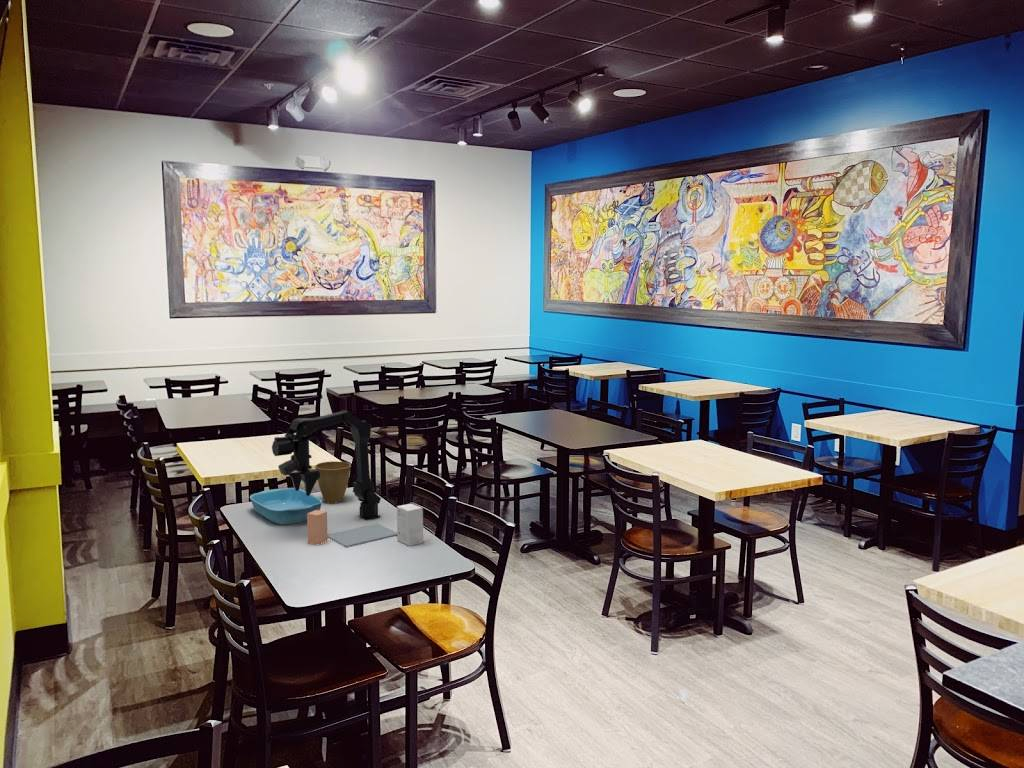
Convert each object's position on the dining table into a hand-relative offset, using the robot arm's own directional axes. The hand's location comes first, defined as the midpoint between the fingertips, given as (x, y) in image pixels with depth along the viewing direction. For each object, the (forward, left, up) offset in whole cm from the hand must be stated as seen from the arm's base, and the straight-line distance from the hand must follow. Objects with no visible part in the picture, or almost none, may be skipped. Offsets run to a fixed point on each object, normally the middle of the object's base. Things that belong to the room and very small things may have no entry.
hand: (302, 493), depth 292 cm
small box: (-24, +36, -15) cm, 46 cm away
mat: (-14, +19, -15) cm, 28 cm away
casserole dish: (-4, -25, -15) cm, 30 cm away
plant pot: (-28, -30, -15) cm, 44 cm away
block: (+2, +15, -15) cm, 21 cm away
